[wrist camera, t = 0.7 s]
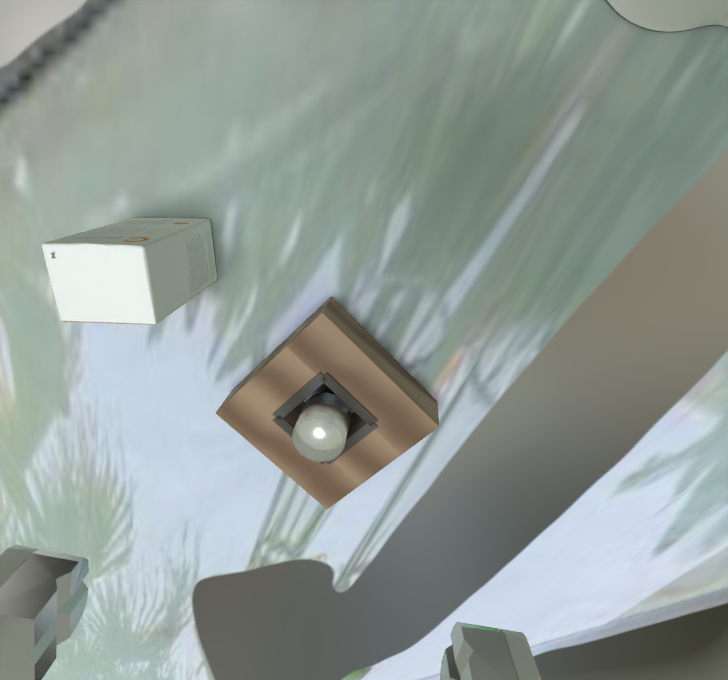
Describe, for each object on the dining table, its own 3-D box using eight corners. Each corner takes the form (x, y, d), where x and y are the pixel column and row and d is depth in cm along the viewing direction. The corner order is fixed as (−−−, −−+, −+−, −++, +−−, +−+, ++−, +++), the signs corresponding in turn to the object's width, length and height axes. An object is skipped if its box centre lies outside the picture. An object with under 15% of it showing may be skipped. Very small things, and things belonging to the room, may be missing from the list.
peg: (325, 383, 48) (317, 407, 44) (361, 416, 49) (355, 442, 45) (292, 412, 49) (281, 437, 45) (327, 443, 51) (319, 471, 46)
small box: (144, 279, 50) (58, 322, 38) (133, 216, 48) (37, 241, 36) (219, 281, 49) (156, 326, 37) (212, 217, 47) (142, 244, 35)
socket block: (331, 296, 49) (321, 313, 44) (437, 401, 52) (439, 427, 47) (232, 389, 54) (214, 413, 49) (334, 479, 57) (326, 510, 52)
